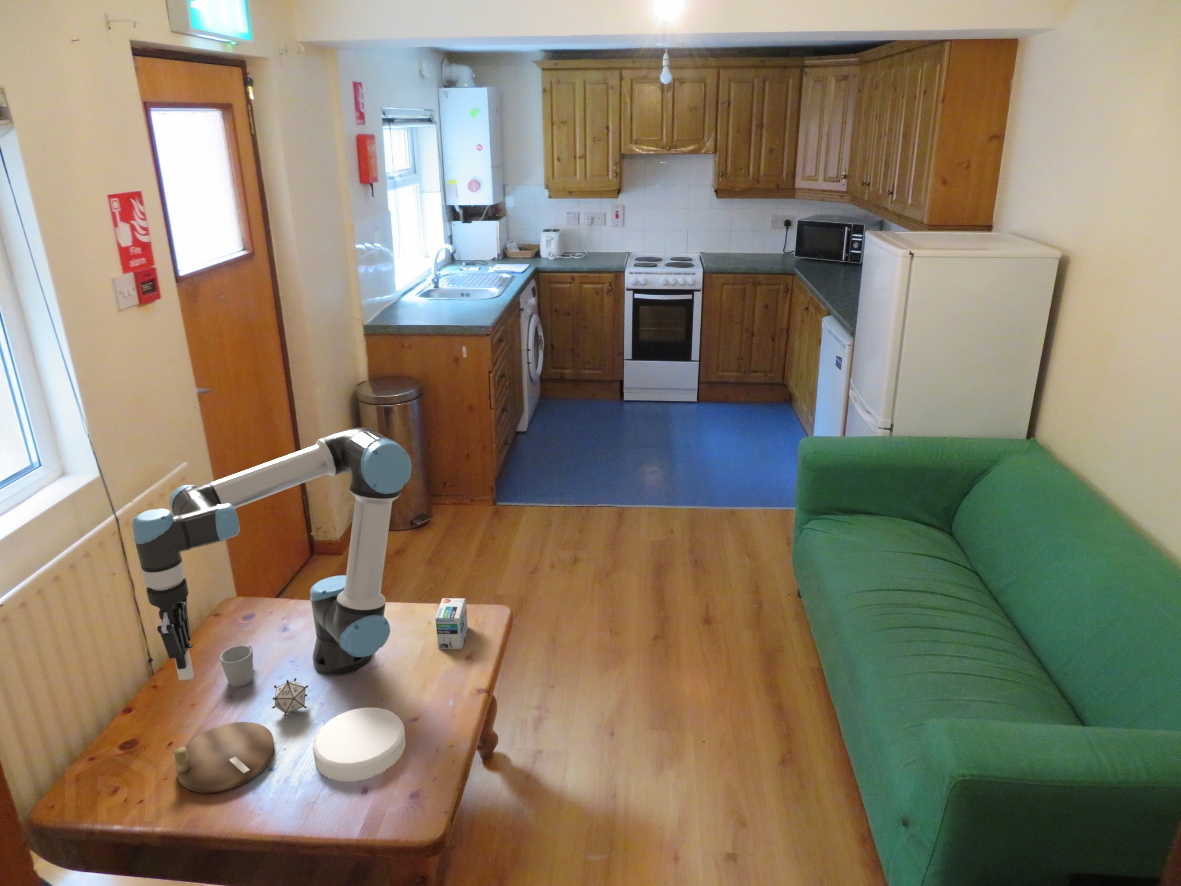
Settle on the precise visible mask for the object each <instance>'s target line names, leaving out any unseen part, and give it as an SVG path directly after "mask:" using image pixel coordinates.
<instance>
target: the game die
mask: <svg viewBox="0 0 1181 886" xmlns="http://www.w3.org/2000/svg"><path fill="white" fill-rule="evenodd" d="M308 687H309V685H305V686H304V685H302V684H300V682H297V678H296V677H294V679H293V680H292V681H290V680H289V679H286V683H283V684H281V685H279V686H277V685H275V684H274V685H273V688H274V689H275V696H274V697H272V700H273V701H274V705H272V707H271V709H273V710H274V709H275V708H276V709H278V710H280V711H281V712H283V716H284V717H286V716H287V714H289V713H291V714H294V713H295V711H298V710H300V709H302V708H304V709H308V706H306V704H305V703H306V698H307V696H308V694H307V693H306V692H307V691H306V689H307V688H308Z"/></svg>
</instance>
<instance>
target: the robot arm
mask: <svg viewBox="0 0 1181 886" xmlns="http://www.w3.org/2000/svg"><path fill="white" fill-rule="evenodd" d="M412 468H413V467H412V460H411V458H410V455H409V454H408V452H407V450H406V449H405V448H404V447H403V446H402V445H400V444H399V443H398V442H397V441H395V440H393V439H391V438H389V437H387V436H384V435H383V434H381V433H380V432H378V431H377V430H375V429H373V428H368V427H355V428H350V429H346V430H345V429H344V430H341V431H338V432H335V433H333V434H330V435H326V436H323V437H322V438H318V439H317V440H316V442H315V444H314V445H311V446H308V447H306V448H303V449H301V450H297V451H295V452H292V453H289V454H287V455H283V456H281V457H278V458H274V459H272V460H269V461H268V462H267V461H266V462H264V463H261V464H258V465H256V466H252V467H250V468H247V469H244V470H241V471H240V472H236V473H233V474H231V475H227V476H226V477H222V478H220V479H217V480H215V481H212V482H208V483H206V484H203V485H202V484H201V485H200V486H196V485H193V484H184V485H181V486H178V487H177V488H175V489H174V491H173V492H172V493H171V495H170V499H169V507H170V509H171V510H170V509H166V508H156V509H154V508H153V509H149V510H146V511H143V512H140V513H138V514H137V515H136V516H135V517H133V519H132V522H131V523H132V525H131V526H132V531H133V532H132V533H133V540H134V544H135V548H136V552H137V556H138V560H139V563H140V564H139V565H140V567H141V570H140V571H139V573H140V575H142V576H143V581H144V584H145V587H146V588H145V589H146V594H147V595H146V596H147V599H148V603H149V604H150V605H151V606H153V607H156V608H158V609H159V611H158V616H159V619H160V620H161V625H157V628H156V629H157V632H158V634H159V635H160V637H161V639H162V641H163V645H164V648H165V650H166V652H167V656H168V659H171V660H172V659H174V663H175V668H176V672H177V676H178V680H179V681H186V680H193V678H194V677H195V673H194V668H193V663H192V658H191V657H192V656H191V655H190V649H191V648H193V646H194V644H193V643H190V641H191V640H192V637H191V631H190V624H189V622H190V621H189V614H188V612H189V611H188V595H189V587H188V583H187V578H186V572H185V568H184V562H183V558H182V555H181V554H182V552H186V551H190V550H192V549H197V548H200V547H204V546H208V545H212V544H215V543H219V542H223V541H225V540H227V539H228V540H229V539H231V538H234V537H236V536H238V535H239V533H240V527H241V526H240V521H239V516H238V513H237V510H236V509H237V508H240V507H243V506H245V505H248V504H251V503H253V502H256V501H258V500H261V499H264V498H267V497H270V496H273V495H274V494H277V493H281V492H282V491H285V490H288V489H290V488H293V487H296V486H299V485H301V484H303V483H307V482H310V481H311V480H314V479H317V478H320V477H323V476H325V475H328V476H330V477H335V476H337V475H340V474H344V473H351V476H350V486H349V492H350V493H351V494H352V496H353V497H354V498H355V499H354V508H353V514H352V524H351V532H350V541H349V549H348V550H349V551H348V557H347V565H346V566H347V567H346V573H345V574H346V575H343V574H342V575H334V576H329V577H326V578H324V579H321V580H319V581H317V582H315V584H313V585H312V586H311V588H310V590H309V593H310V597H309V600H310V604H311V609H312V616H313V622H314V629H315V635H316V640H315V642H314V649H313V652H312V662H313V667H314V670H316V671H317V672H319V673H320V674H322V675H328V676H341V675H342V676H343V675H348V674H351V673H355V672H357V671H358V670H360V669H362V668H363V667H365V666H367V664H368V663H370V661H371V660H372V657H373V655H374V654H375V653H376V652H378V651H379V650H380V648H383V647H384V646H385V644H386V643H387V641H388V639H389V637H390V634H391V627H390V623H389V621H388V619H387V618H386V617H385V610H386V603H387V601H386V600H387V599H386V597H385V596H384V594H382V593H381V592H382V591H381V589H382V582H383V574H384V568H385V559H386V553H387V546H388V545H387V544H388V537H389V530H390V529H389V528H390V522H391V521H390V520H391V514H392V508H393V507H392V505H393V502H394V501H395V500H397V499H398V498H399V497H400V495H401V490H402V489H403V488H404V486H405V485H406V484H407V483H408V481H409V480H410V479H411V475H412ZM171 511H172V512H171Z"/></svg>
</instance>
